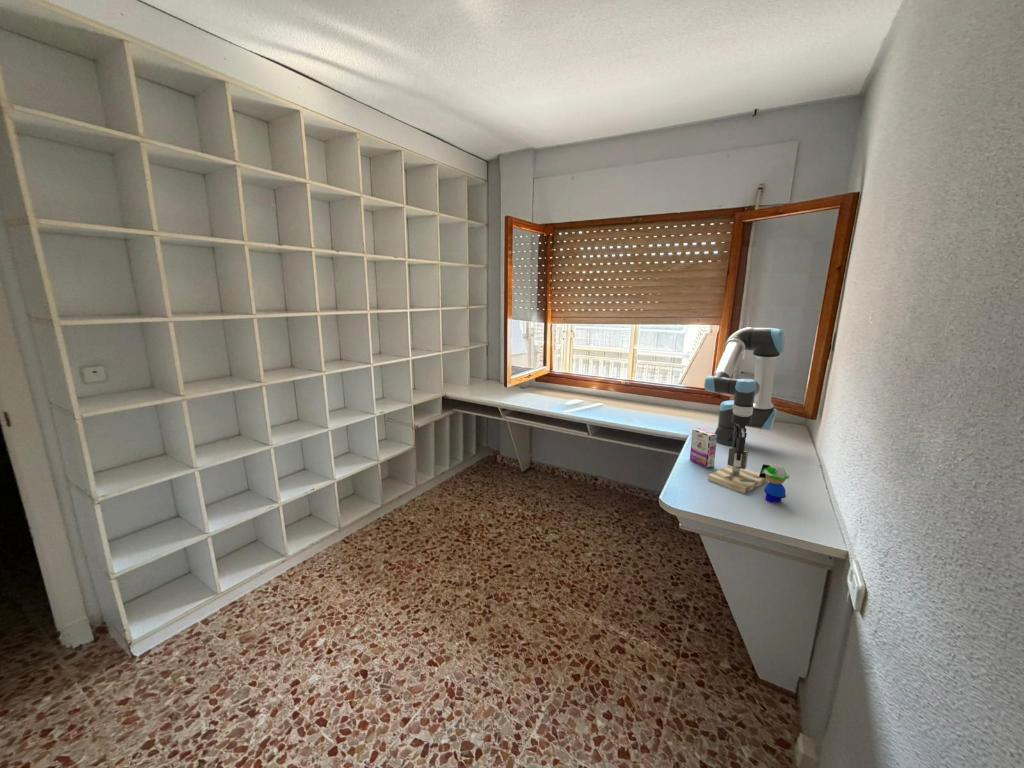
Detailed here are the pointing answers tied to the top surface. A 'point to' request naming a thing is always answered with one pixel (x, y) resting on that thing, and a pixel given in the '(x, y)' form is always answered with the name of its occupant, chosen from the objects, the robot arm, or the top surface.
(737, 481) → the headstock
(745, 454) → the peg
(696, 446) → the candy bar box
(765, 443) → the top surface
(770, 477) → the toy
